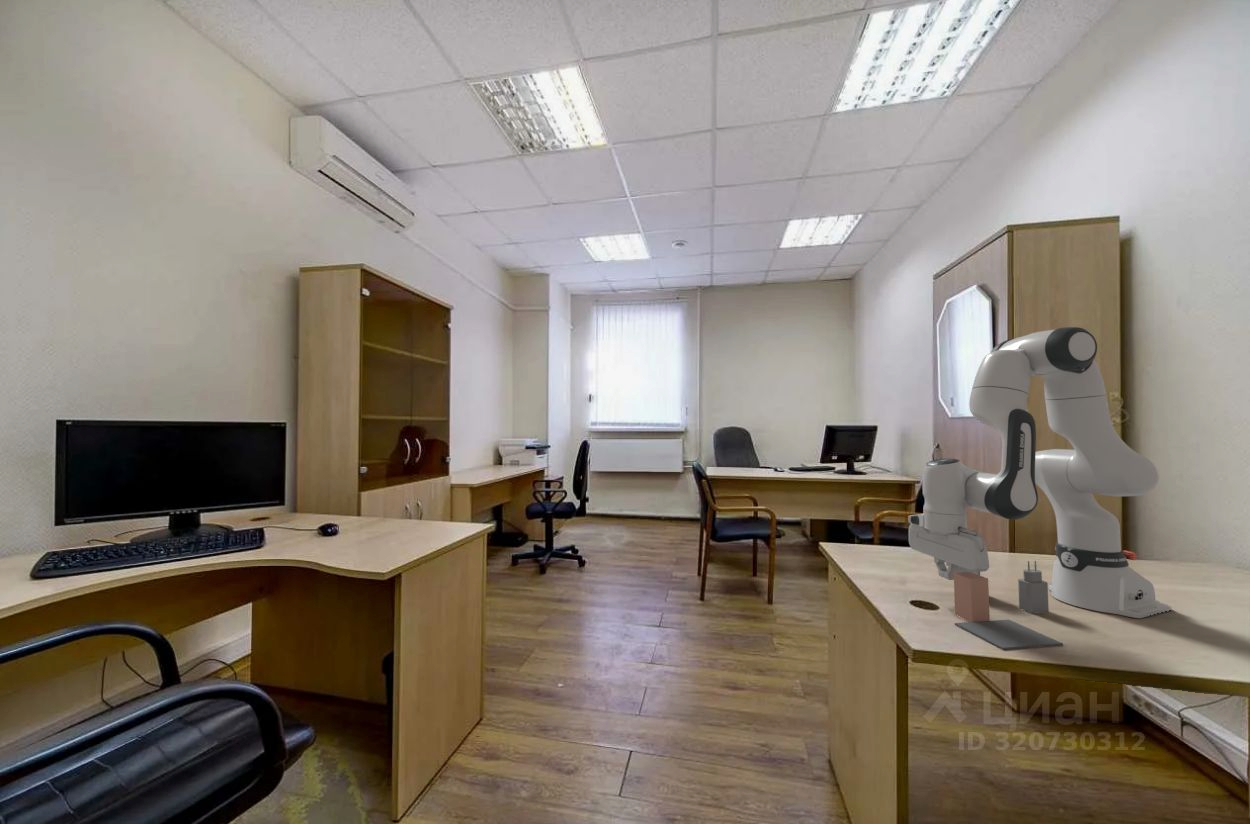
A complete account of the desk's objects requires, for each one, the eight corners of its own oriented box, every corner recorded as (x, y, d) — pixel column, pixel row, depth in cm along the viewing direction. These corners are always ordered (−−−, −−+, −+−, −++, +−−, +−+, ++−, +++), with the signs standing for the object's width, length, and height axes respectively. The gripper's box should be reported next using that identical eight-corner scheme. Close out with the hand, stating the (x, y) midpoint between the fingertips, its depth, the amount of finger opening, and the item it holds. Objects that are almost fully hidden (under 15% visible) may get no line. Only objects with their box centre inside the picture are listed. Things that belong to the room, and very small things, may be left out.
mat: (1009, 621, 99) (1009, 619, 99) (1062, 645, 88) (1062, 643, 88) (954, 624, 97) (954, 623, 97) (1002, 649, 86) (1002, 647, 86)
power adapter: (1017, 608, 106) (1015, 559, 107) (1037, 607, 107) (1035, 558, 107) (1030, 613, 103) (1028, 563, 103) (1050, 612, 104) (1048, 562, 104)
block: (971, 613, 103) (970, 571, 103) (989, 622, 99) (988, 578, 99) (955, 614, 103) (953, 572, 103) (972, 623, 98) (970, 579, 99)
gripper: (995, 532, 98) (998, 593, 98) (924, 514, 118) (925, 564, 118) (971, 533, 97) (973, 594, 97) (903, 515, 118) (904, 565, 117)
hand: (946, 578), depth 108 cm, fingers closed
